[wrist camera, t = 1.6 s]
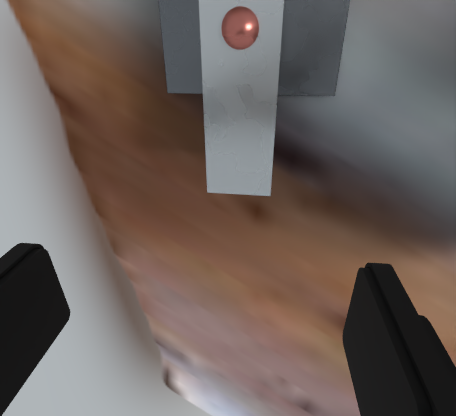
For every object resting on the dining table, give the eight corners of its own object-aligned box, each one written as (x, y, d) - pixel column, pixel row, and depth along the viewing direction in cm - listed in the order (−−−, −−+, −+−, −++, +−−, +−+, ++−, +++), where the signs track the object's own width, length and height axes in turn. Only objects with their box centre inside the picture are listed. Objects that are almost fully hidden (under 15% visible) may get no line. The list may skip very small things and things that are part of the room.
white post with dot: (289, -85, 16) (292, -120, 12) (271, 171, 23) (270, 197, 19) (211, -80, 16) (192, -113, 12) (217, 168, 23) (206, 193, 19)
